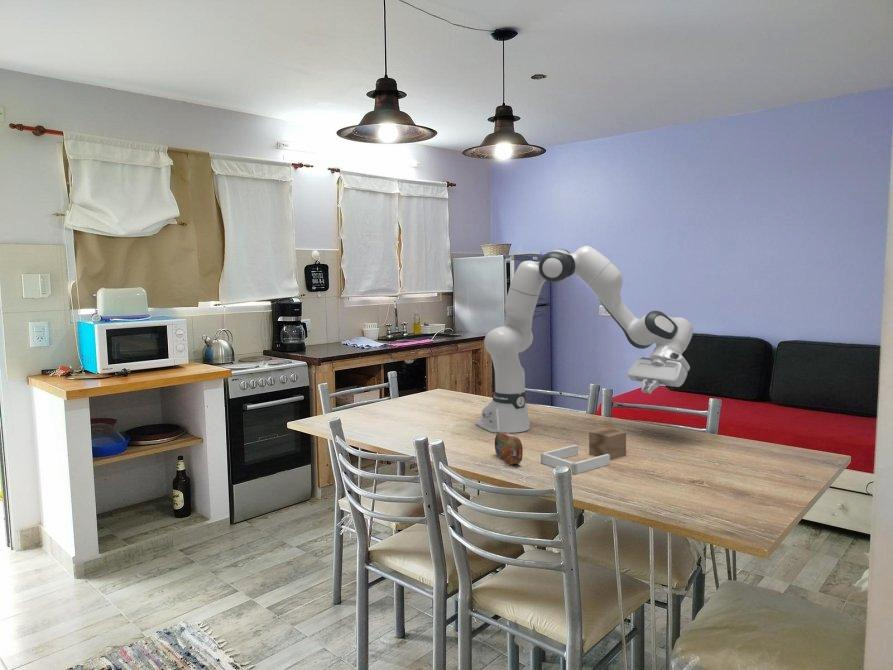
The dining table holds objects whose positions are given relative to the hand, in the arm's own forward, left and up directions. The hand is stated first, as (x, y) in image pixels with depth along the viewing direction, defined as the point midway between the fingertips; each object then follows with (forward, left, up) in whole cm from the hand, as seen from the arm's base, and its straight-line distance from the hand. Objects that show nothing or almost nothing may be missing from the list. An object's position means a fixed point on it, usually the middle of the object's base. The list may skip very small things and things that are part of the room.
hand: (645, 392), depth 198 cm
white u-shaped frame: (0, -32, -18) cm, 37 cm away
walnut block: (0, -18, -18) cm, 26 cm away
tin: (-15, -46, -18) cm, 52 cm away
